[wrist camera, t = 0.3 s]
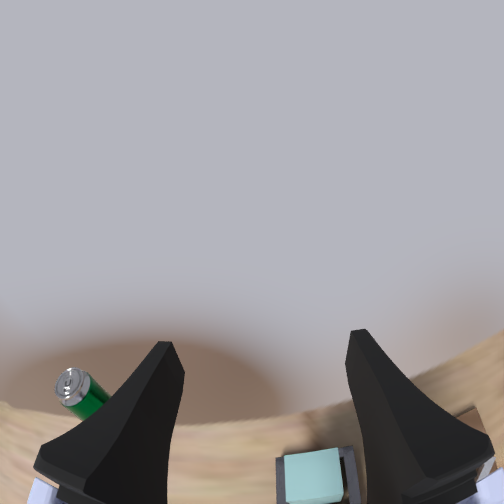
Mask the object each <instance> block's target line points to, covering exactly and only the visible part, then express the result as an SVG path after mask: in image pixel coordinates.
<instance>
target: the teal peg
mask: <svg viewBox="0 0 504 504" xmlns="http://www.w3.org/2000/svg"><path fill="white" fill-rule="evenodd" d="M284 463H285V489H286V502H288V503H290V504H330V503H336V502H341V499H342V496H343V494H344V492H343V484H342V476H341V468H340V461H339V453H338V447H336V448H331V449H326V450H320V451H314V452H307V453H300V454H293V455H284Z"/></svg>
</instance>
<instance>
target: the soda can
mask: <svg viewBox="0 0 504 504" xmlns="http://www.w3.org/2000/svg"><path fill="white" fill-rule="evenodd" d="M55 394H56V395H57V397H58V398H59V401H60V403H61V404H62V405H63V406H64V407H65V408H67V409H68V410H69V411H70V412H71V413H73V414H74V415H75V416H76V417H78V418H79V419H80V420H81V421H84V420H85V419H87V418H88V417H89V416H91V415H92V414H93V413H94V412H96V411H97V410H98V409H99V408H100V407H101V406H102V405H103V404H105V403H106V402H107V401H108V400H109V399H110V398H111V397H112V396H110V394H108V392H106V391H105V390H104V389H103V388H102V387H101V386H100V385H99V384H98V383H97V382H96V381H95V380H94V379H93V378H92V377H91V376H90V375H89V374H88V373H87V372H85V371H81V370H80V369H79V368H74V367H73V368H69V369H67V370H66V371H64V372H63V373H62V374H61V375H60V376H59V378H58V379H57V381H56V384H55Z"/></svg>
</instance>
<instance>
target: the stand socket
mask: <svg viewBox="0 0 504 504" xmlns="http://www.w3.org/2000/svg"><path fill="white" fill-rule="evenodd" d="M338 453H339V460H343V461H344V468H345V475H346V483H347V491H348V499H349V504H361V497H360V489H359V482H358V475H357V469H356V463H355V456H354V450H353V445H352V446H348V447H343V448H338ZM276 493H277V504H290V503H288V502H286V489H285V463H284V457H278V458H276Z"/></svg>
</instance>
